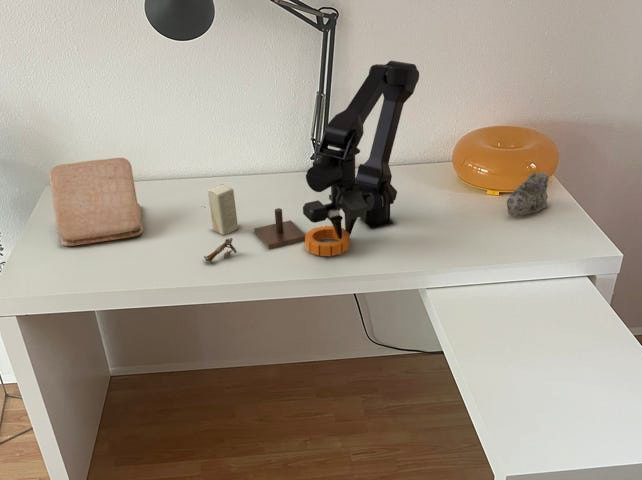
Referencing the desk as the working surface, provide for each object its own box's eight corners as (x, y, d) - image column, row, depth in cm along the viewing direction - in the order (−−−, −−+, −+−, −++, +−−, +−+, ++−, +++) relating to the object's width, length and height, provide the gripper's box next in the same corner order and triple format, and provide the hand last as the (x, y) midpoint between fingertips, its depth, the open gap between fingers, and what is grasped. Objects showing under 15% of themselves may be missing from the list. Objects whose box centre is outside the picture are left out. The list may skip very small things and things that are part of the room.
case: (60, 250, 187) (44, 189, 178) (63, 214, 204) (48, 157, 194) (144, 239, 191) (132, 178, 181) (140, 205, 207) (129, 148, 198)
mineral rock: (507, 221, 192) (512, 183, 186) (493, 203, 201) (497, 167, 195) (556, 216, 194) (562, 179, 188) (540, 199, 202) (545, 162, 196)
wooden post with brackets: (241, 250, 182) (232, 237, 179) (215, 271, 181) (206, 258, 178) (237, 247, 183) (228, 234, 180) (212, 268, 182) (203, 255, 179)
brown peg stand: (291, 224, 195) (289, 198, 191) (306, 240, 187) (305, 213, 183) (254, 232, 192) (252, 206, 187) (268, 249, 184) (266, 222, 180)
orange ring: (338, 232, 189) (337, 222, 188) (357, 249, 181) (357, 240, 180) (298, 241, 186) (298, 231, 184) (316, 259, 178) (316, 249, 176)
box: (228, 223, 196) (223, 183, 190) (238, 228, 194) (234, 188, 187) (212, 230, 193) (206, 189, 187) (222, 235, 191) (217, 194, 184)
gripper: (320, 197, 166) (322, 260, 175) (395, 181, 172) (393, 243, 181) (300, 179, 174) (303, 240, 184) (372, 164, 180) (372, 224, 189)
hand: (343, 237), depth 184 cm, fingers closed on orange ring, 2 cm apart
